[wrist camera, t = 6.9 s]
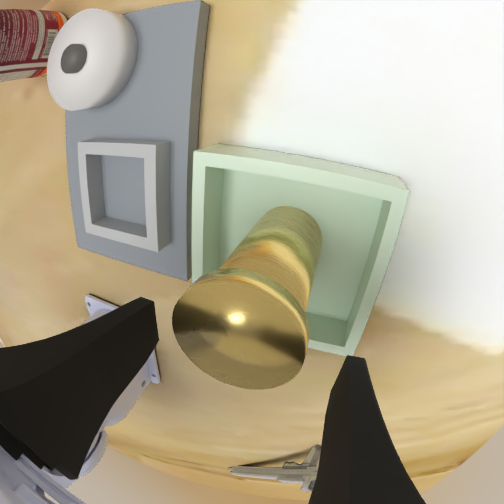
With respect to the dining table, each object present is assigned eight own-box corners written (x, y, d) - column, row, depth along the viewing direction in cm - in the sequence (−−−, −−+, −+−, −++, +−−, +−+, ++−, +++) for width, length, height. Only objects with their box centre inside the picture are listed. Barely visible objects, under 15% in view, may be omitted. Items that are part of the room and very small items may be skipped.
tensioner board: (194, 272, 22) (168, 302, 18) (86, 241, 24) (57, 260, 21) (210, -2, 13) (178, -22, 10) (82, 26, 15) (45, 23, 12)
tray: (354, 326, 20) (351, 357, 17) (211, 291, 22) (192, 315, 19) (399, 177, 15) (409, 191, 12) (217, 143, 17) (193, 151, 14)
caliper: (329, 437, 27) (318, 488, 22) (335, 441, 27) (325, 491, 22) (228, 466, 38) (213, 498, 32) (233, 469, 38) (219, 501, 32)
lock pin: (320, 282, 18) (291, 401, 11) (245, 265, 19) (177, 366, 12) (336, 208, 16) (319, 305, 8) (251, 192, 17) (167, 268, 9)
